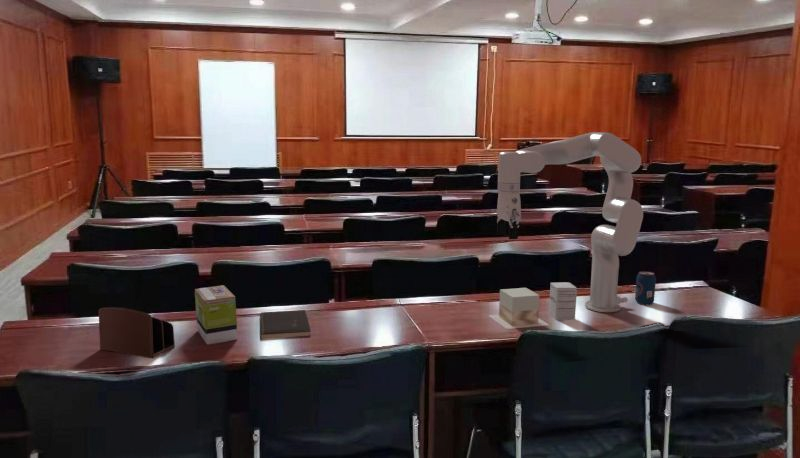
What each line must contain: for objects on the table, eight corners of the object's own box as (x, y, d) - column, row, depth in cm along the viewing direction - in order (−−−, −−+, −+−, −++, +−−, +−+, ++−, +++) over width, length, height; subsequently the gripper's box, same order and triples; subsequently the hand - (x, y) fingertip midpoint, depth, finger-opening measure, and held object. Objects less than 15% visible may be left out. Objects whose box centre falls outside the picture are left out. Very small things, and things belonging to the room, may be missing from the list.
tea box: (196, 331, 204) (193, 287, 202) (226, 326, 209) (224, 284, 207) (206, 345, 191) (203, 299, 189) (238, 340, 196) (236, 295, 194)
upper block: (525, 301, 220) (525, 287, 219) (538, 309, 211) (539, 295, 210) (499, 303, 217) (500, 289, 217) (512, 311, 208) (512, 297, 207)
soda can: (631, 300, 243) (633, 270, 241) (648, 300, 244) (650, 270, 242) (640, 305, 237) (642, 275, 235) (657, 305, 237) (659, 274, 235)
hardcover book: (305, 315, 223) (305, 309, 222) (310, 337, 201) (310, 330, 200) (260, 318, 219) (259, 312, 219) (260, 340, 197) (260, 333, 197)
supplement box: (548, 316, 223) (549, 282, 221) (568, 315, 224) (570, 281, 221) (554, 322, 216) (556, 287, 214) (575, 322, 216) (577, 287, 214)
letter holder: (152, 359, 180) (149, 312, 178) (99, 350, 187) (95, 305, 185) (175, 347, 190) (172, 303, 187) (124, 339, 196) (121, 296, 194)
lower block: (524, 314, 221) (525, 301, 220) (538, 323, 212) (538, 309, 211) (499, 316, 218) (499, 303, 217) (511, 325, 209) (512, 311, 208)
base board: (528, 314, 224) (528, 312, 224) (549, 327, 210) (549, 325, 210) (488, 318, 220) (488, 315, 220) (506, 331, 206) (506, 328, 206)
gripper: (530, 190, 206) (528, 240, 209) (507, 185, 222) (506, 231, 225) (509, 190, 204) (507, 241, 207) (488, 185, 220) (487, 232, 223)
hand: (507, 236), depth 216 cm, fingers open, 9 cm apart
